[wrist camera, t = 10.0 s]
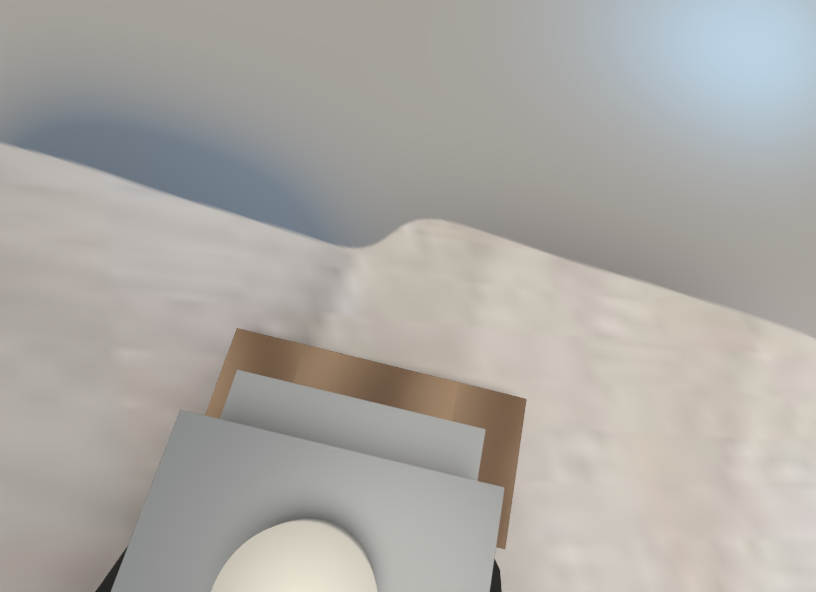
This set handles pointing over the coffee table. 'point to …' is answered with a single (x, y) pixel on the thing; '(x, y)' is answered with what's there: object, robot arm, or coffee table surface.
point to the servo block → (314, 499)
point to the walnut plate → (388, 397)
